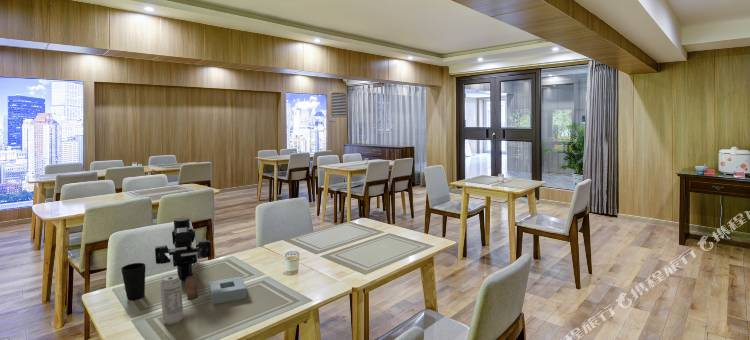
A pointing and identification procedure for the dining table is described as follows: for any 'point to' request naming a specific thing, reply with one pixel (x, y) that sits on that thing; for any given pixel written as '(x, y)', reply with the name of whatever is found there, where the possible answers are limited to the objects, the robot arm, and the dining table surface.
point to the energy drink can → (171, 299)
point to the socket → (227, 290)
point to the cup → (134, 280)
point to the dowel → (192, 287)
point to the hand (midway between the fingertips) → (184, 258)
